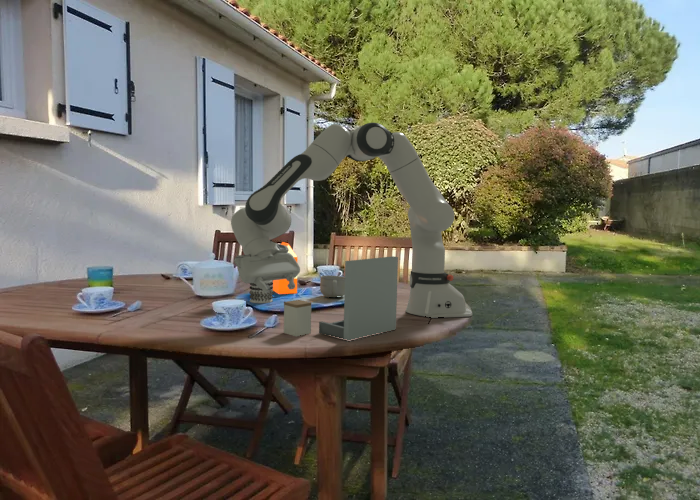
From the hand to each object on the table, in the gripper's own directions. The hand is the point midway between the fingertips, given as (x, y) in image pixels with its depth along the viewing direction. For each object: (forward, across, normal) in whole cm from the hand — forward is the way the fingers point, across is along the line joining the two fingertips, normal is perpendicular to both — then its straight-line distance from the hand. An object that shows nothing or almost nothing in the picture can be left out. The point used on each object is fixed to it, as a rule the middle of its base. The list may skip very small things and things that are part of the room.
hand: (280, 289), depth 166 cm
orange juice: (-25, +39, +41) cm, 62 cm away
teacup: (-10, +46, +26) cm, 54 cm away
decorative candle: (-18, +20, +34) cm, 43 cm away
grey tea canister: (+14, 0, +2) cm, 14 cm away
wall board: (+21, +14, -5) cm, 26 cm away
